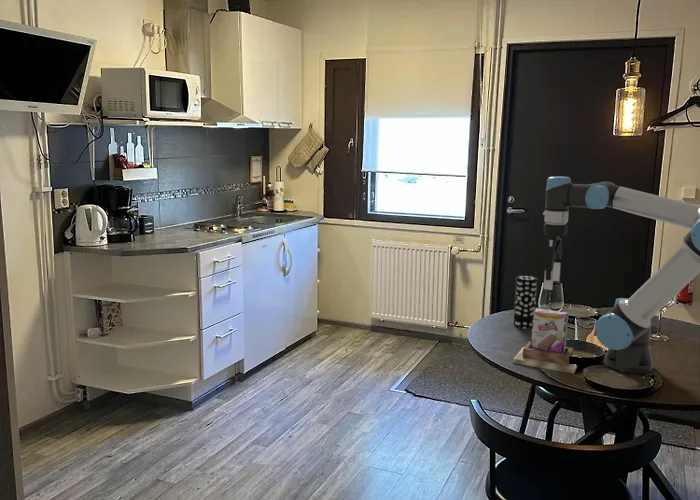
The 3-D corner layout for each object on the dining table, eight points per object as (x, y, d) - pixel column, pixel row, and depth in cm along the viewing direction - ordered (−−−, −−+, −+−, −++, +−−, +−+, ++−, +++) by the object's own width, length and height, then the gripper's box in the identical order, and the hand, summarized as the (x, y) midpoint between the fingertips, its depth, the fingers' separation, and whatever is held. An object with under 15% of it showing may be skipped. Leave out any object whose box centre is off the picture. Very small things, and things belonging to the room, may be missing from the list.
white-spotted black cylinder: (535, 329, 258) (538, 280, 254) (513, 327, 259) (516, 279, 256) (533, 323, 266) (536, 276, 262) (513, 321, 267) (515, 275, 264)
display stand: (580, 360, 224) (581, 347, 223) (573, 373, 211) (574, 359, 211) (523, 350, 233) (523, 338, 232) (513, 362, 221) (513, 349, 220)
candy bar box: (529, 357, 222) (532, 311, 219) (532, 352, 226) (535, 307, 223) (563, 362, 217) (566, 315, 214) (565, 358, 221) (568, 312, 218)
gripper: (550, 217, 227) (547, 276, 231) (536, 227, 205) (532, 291, 209) (573, 219, 224) (568, 278, 228) (561, 229, 202) (556, 294, 206)
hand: (551, 285), depth 219 cm, fingers open, 13 cm apart
